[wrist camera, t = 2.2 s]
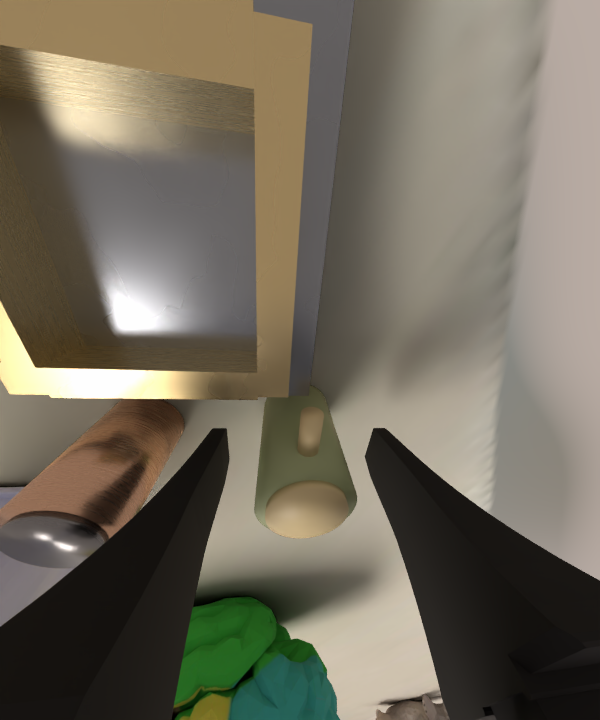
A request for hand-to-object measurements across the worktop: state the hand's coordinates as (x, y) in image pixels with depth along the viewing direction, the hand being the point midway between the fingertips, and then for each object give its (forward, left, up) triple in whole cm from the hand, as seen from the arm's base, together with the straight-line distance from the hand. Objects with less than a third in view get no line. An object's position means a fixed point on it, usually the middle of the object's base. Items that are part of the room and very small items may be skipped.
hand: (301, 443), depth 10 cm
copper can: (-1, +9, -3) cm, 9 cm away
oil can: (0, 0, -3) cm, 3 cm away
